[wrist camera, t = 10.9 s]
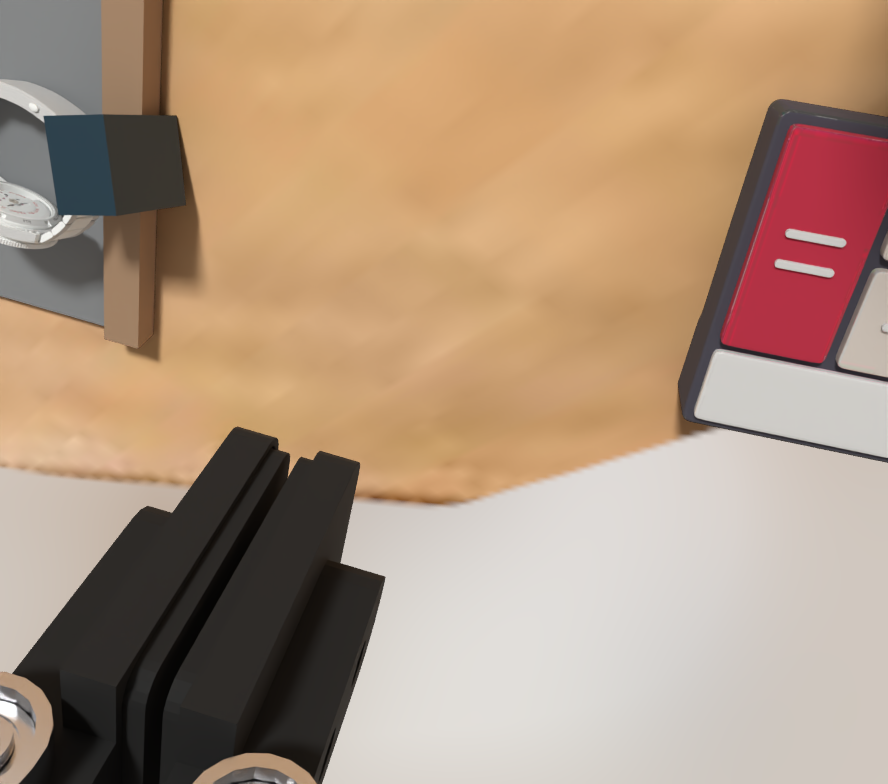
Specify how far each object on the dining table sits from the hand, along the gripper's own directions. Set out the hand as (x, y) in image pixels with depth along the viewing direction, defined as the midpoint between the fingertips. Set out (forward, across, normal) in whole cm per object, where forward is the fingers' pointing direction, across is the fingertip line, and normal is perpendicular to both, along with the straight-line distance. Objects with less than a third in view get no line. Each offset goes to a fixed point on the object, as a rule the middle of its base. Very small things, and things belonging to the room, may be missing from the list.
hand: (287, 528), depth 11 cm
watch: (+28, +16, +8) cm, 33 cm away
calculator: (+32, -17, +5) cm, 36 cm away
